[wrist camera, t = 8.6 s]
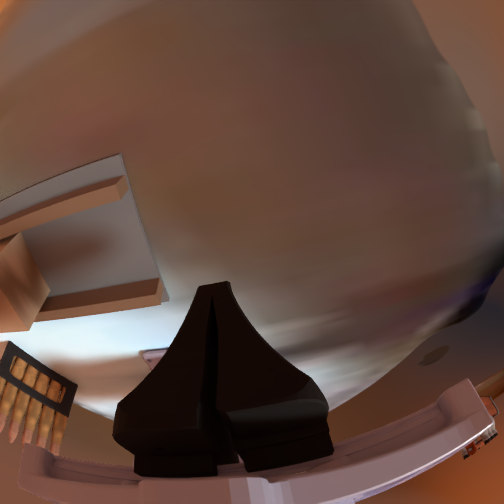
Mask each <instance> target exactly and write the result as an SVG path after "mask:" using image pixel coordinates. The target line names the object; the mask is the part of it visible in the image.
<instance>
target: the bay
mask: <svg viewBox="0 0 504 504" xmlns="http://www.w3.org/2000/svg"><path fill="white" fill-rule="evenodd" d="M19 232H21V233H22V235H23V238H24V240H25V242H26V244H27V246H28V248H29V250H30V253H31V255H32V257H33V259H34V261H35V263H36V265H37V266H38V268H39V270H40V272H41V274H42V276H43V278H44V280H45V281H46V283H47V285H48V287H49V288H50V290H51V291H50V292H49V294H48V296H47V298H46V299H45V301H44V303H43V305H42V307H41V308H40V310H39V312H38V314H37V316H36V318H35V320H34V322H40V321H49V320H57V319H65V318H73V317H81V316H88V315H96V314H103V313H110V312H117V311H124V310H131V309H137V308H144V307H150V306H156V305H161V302H166V301H169V296H168V293H167V291H166V288H165V286H164V283H163V281H162V278H161V275H160V273H159V270H158V268H157V265H156V262H155V260H154V257H153V254H152V251H151V249H150V246H149V243H148V240H147V237H146V234H145V231H144V228H143V225H142V222H141V219H140V216H139V213H138V210H137V207H136V204H135V200H134V197H133V194H132V191H131V187H130V184H129V180H128V177H127V173H126V170H125V166H124V163H123V159H122V155H121V153H120V154H116V155H113V156H110V157H107V158H104V159H101V160H98V161H95V162H92V163H89V164H86V165H84V166H81V167H78V168H75V169H73V170H70V171H67V172H65V173H62V174H60V175H57V176H55V177H52V178H50V179H47V180H45V181H43V182H40V183H38V184H36V185H33V186H31V187H29V188H27V189H25V190H22V191H20V192H18V193H16V194H14V195H12V196H10V197H8V198H6V199H4V200H2V201H0V240H1V239H3V238H6V237H8V236H11V235H13V234H16V233H19Z"/></svg>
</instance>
